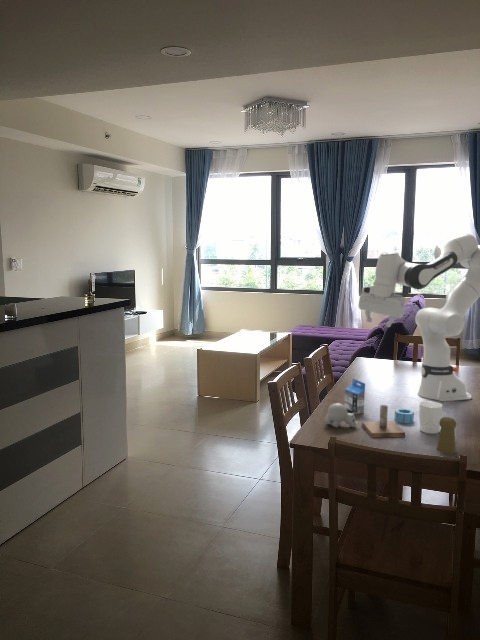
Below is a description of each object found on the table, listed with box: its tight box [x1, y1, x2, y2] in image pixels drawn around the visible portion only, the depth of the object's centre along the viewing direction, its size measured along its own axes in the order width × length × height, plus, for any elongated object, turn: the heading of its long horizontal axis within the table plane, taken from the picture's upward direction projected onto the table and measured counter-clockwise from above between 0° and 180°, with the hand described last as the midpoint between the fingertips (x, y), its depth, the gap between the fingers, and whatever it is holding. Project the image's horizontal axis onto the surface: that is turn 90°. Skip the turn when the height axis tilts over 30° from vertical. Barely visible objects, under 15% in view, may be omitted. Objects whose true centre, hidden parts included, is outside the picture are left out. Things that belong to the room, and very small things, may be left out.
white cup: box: [418, 400, 443, 435], centre depth 195 cm, size 8×8×10 cm
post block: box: [361, 404, 406, 438], centre depth 194 cm, size 12×12×10 cm
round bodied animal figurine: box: [324, 402, 359, 428], centre depth 199 cm, size 7×12×8 cm, turn 72°
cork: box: [436, 416, 457, 455], centre depth 176 cm, size 6×6×11 cm
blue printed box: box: [344, 378, 366, 415], centre depth 218 cm, size 9×4×12 cm, turn 23°
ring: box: [394, 408, 415, 424], centre depth 206 cm, size 7×7×4 cm
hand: (378, 324), depth 222 cm, fingers open, 8 cm apart
